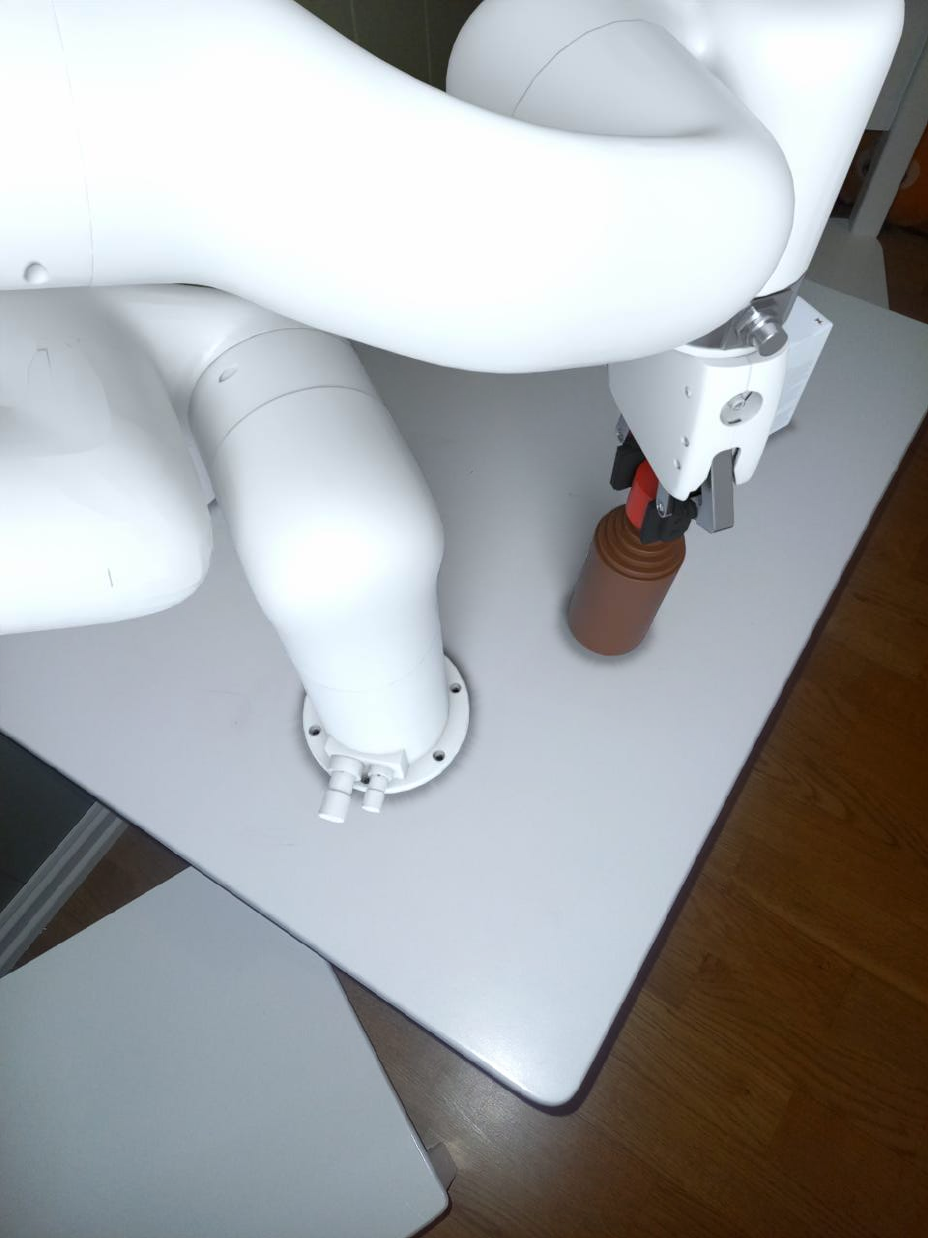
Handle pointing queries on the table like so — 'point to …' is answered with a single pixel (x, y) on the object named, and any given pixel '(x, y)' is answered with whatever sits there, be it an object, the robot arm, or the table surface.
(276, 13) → the robot arm
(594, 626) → the sauce bottle
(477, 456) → the table surface
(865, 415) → the table surface
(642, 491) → the cap
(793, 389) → the cosmetic box
